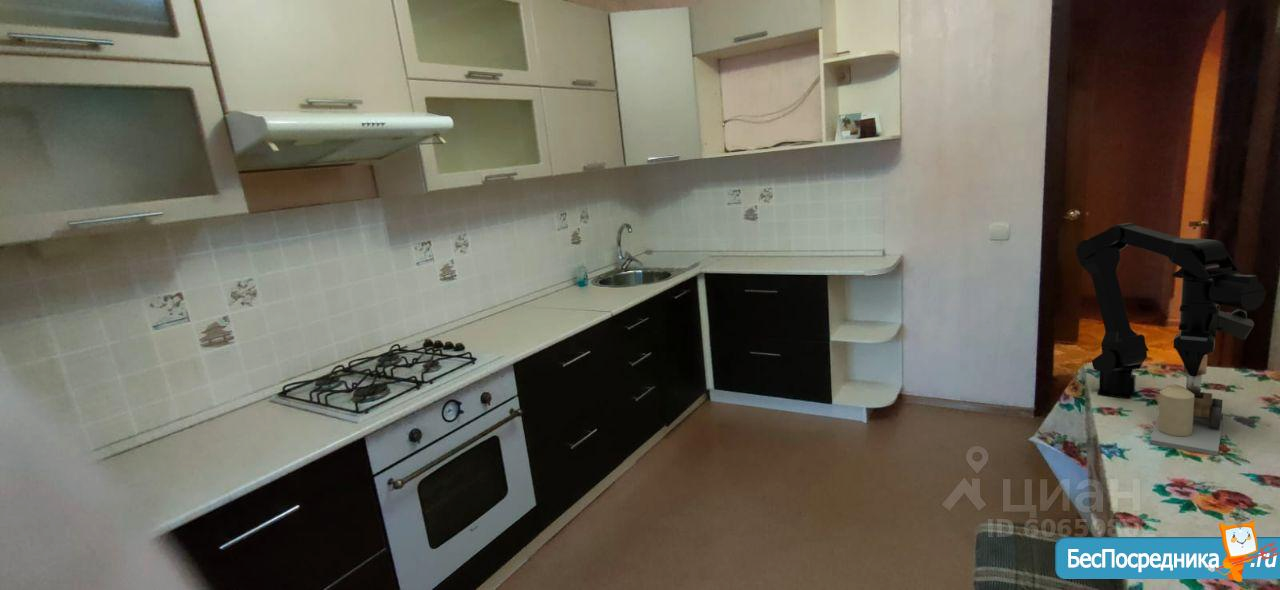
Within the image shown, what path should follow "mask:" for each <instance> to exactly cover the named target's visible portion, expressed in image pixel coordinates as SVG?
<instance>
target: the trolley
mask: <svg viewBox="0 0 1280 590" xmlns="http://www.w3.org/2000/svg"><path fill="white" fill-rule="evenodd" d="M1223 400H1224V399H1219V398H1213V393H1211V392H1203V391H1201V394H1200V395H1197V396H1195V395H1194V412H1193V416H1194V417H1201V418H1208V419H1209V427H1210V428H1217V429H1220V420H1221V414H1222V413H1223V404H1224V403H1223Z"/></svg>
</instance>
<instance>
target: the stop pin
mask: <svg viewBox="0 0 1280 590" xmlns="http://www.w3.org/2000/svg"><path fill="white" fill-rule="evenodd" d="M1207 366H1208V354H1206V355H1204V356H1203V359H1202V362H1201V364H1200V367H1199V370H1198V373H1197V376H1190V375H1189V373H1188V371H1187V369H1186V367H1185V365H1184V363H1183V362H1182V372H1183V373H1184V374H1186V384H1185V388H1186V389H1187V390H1189V391H1191V392H1192V393H1193V394H1194V395H1195V396H1197V395H1200V394H1201V392H1202V379H1203V378H1202V375H1203V376H1204V375H1206V374H1207V369H1208V368H1207Z"/></svg>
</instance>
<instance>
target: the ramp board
mask: <svg viewBox="0 0 1280 590" xmlns="http://www.w3.org/2000/svg"><path fill="white" fill-rule="evenodd" d="M1158 420H1159V414H1158V416H1157V419H1156V421H1155V424H1154V427H1153V429H1152V433H1151V436H1150V439H1149V445H1152V446H1157V447H1165V448H1170V449H1175V450H1176V449H1177V450H1181V451H1188V452H1193V453H1196V454H1197V453H1199V454H1205V455H1211V456H1216V457H1219V452H1220V451H1219V450H1220V444H1221V438H1222V431H1223V425H1224V424H1223V423H1224V413H1223V412H1222V414H1221V420H1220V429H1217V428H1210V427H1209V419H1208V418H1201V417H1194V416H1193V427H1192V434H1191V435H1189V436H1172V435H1168V434H1165V433H1162V432H1161V431H1159V429H1158Z"/></svg>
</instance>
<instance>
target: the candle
mask: <svg viewBox="0 0 1280 590" xmlns="http://www.w3.org/2000/svg"><path fill="white" fill-rule="evenodd" d="M1158 404H1159V405H1158V415H1159V420H1158V429H1159V431H1161V432H1162V433H1165V434H1168V435H1172V436H1189V435H1191V434H1192V427H1193V412H1194V394H1193V393H1192V392H1191V391H1189V390H1187V389H1186V387H1184V386H1181V385H1179V384H1169V385H1168V386H1166V387H1164V388H1162V389H1160V390H1159V402H1158Z"/></svg>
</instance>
